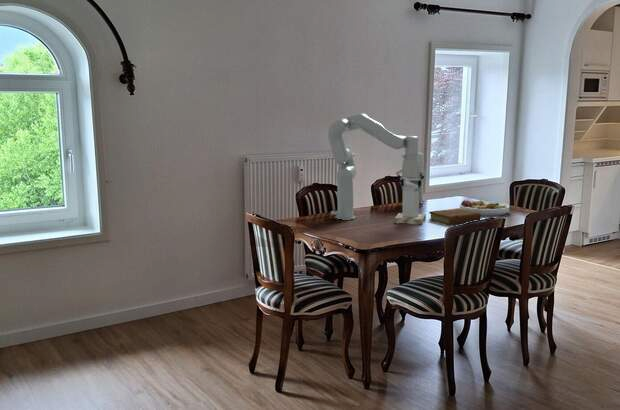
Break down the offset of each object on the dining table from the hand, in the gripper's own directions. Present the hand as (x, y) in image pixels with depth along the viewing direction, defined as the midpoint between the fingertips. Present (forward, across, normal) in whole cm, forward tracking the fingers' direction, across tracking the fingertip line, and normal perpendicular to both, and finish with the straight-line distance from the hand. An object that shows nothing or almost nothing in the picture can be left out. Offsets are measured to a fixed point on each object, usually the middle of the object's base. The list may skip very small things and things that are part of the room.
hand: (410, 186), depth 356 cm
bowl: (+21, +41, +39) cm, 60 cm away
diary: (+21, +25, +7) cm, 33 cm away
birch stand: (+20, 0, 0) cm, 20 cm away
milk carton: (+18, 0, 0) cm, 18 cm away
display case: (+21, -6, +53) cm, 57 cm away
